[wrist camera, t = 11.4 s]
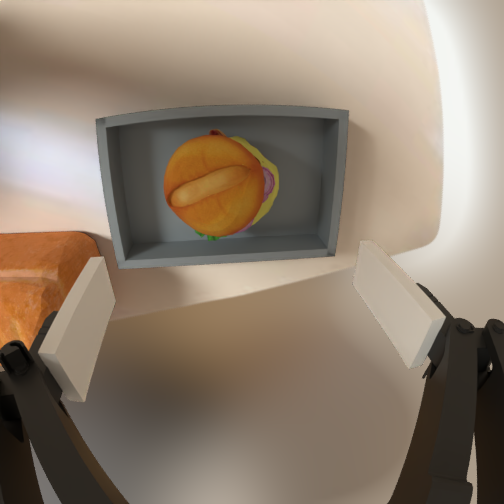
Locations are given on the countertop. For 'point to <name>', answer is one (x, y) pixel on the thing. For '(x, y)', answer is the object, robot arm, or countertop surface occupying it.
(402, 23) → the countertop surface
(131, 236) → the box
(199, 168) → the cheeseburger
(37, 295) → the bread
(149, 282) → the countertop surface
